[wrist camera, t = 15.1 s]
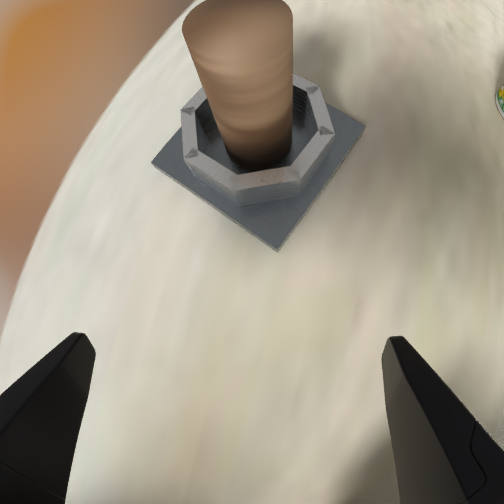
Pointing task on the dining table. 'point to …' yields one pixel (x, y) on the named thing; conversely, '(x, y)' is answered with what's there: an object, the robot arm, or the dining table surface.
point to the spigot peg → (246, 75)
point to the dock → (261, 181)
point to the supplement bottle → (500, 100)
